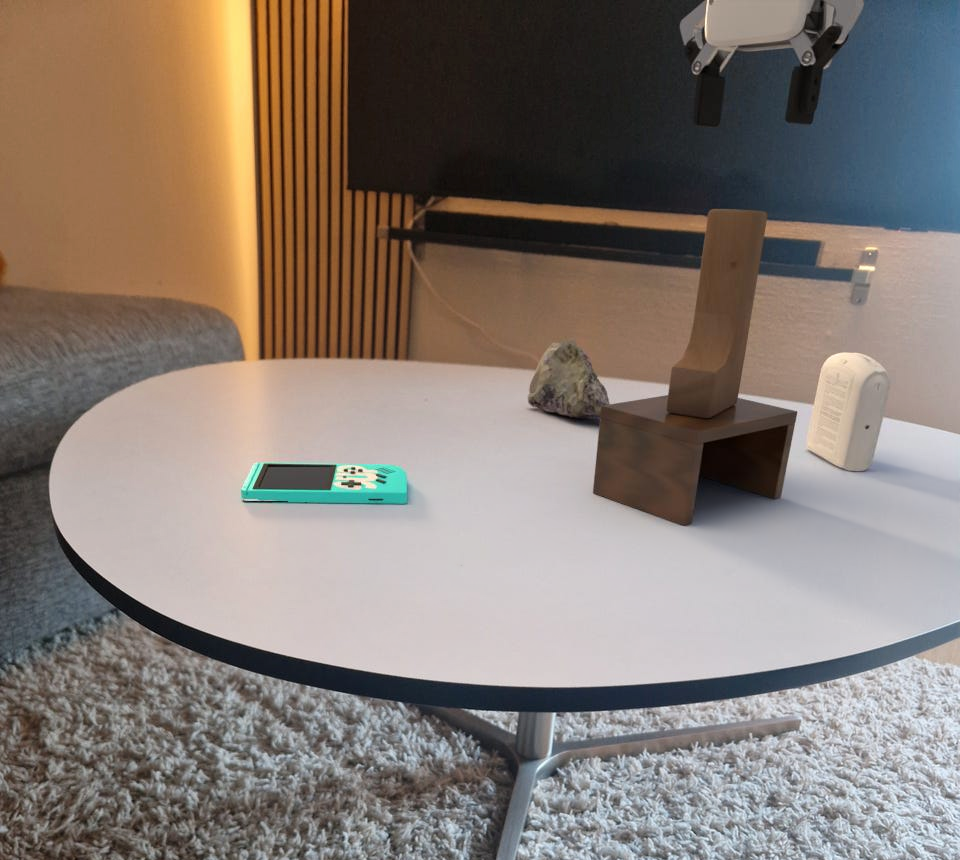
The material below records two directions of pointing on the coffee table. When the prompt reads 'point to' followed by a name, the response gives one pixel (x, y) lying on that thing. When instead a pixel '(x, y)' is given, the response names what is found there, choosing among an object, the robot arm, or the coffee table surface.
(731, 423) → the shelf
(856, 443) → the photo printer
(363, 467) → the handheld game console
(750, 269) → the wooden block
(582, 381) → the mineral rock
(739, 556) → the coffee table surface
